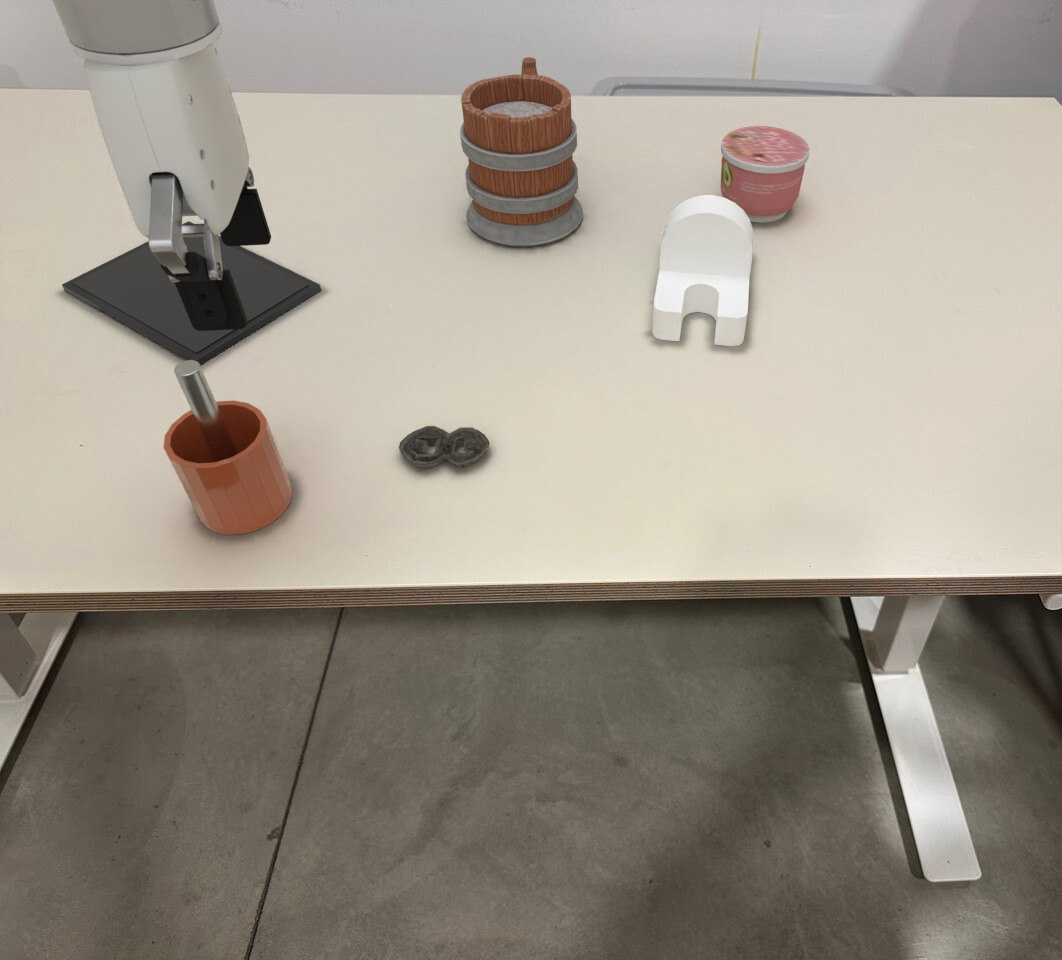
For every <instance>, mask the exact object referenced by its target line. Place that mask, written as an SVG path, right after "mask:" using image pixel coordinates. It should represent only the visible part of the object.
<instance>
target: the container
mask: <svg viewBox="0 0 1062 960" xmlns="http://www.w3.org/2000/svg"><path fill="white" fill-rule="evenodd" d="M720 153H721V155H722V158H721V165H720V166H721V168H720V169H721V170H720V187H719V188H720V192H721V195H722V196H721V197H724V198H726V199H728V200H730V201H732V202H734V203H736V204H737V205H738V206H739V207H740V208H742V209H743V210H744V212H745V213H746V215H747V216H748V218H749V219H750V222H751V223H771V222H772V223H773V222H776V221H778V220H781V219H782V218H784V217H785V216H786V215H787V214H788V211H790V210H791V208H793V206H794V204H795V203H796V201H797V200H798V198H799V196H800V191H801V187H802V182H803V178H804V173H805V167H806V163H807V162H808V160H809V158H810V146H809V144H808V143H807V141H806V140H805V139H804V138H803V137H802V136H800V135H798V134H797V133H795V132H793V131H790V130H789V129H788V130H787V129H784V128H780V127H775V126H770V125H769V126H767V125H750V126H743V127H740V128H736V129H734V130H732V131H729V132H728V133H727V134H726V135H724V136H723V138H722V139H721V144H720Z"/></svg>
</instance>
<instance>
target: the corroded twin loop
mask: <svg viewBox="0 0 1062 960" xmlns="http://www.w3.org/2000/svg"><path fill="white" fill-rule="evenodd" d="M429 442H436V443H435V447H434V452H433V453H431V454H424V452H426V451H427V448H428V445H429V444H428V443H429ZM459 442H464V443H463V452H456V451H455V450H456V447H457V443H459ZM489 447H490V440H489V439H488V438H487V436H486V434H485V433H483V432H481V431H480V430H479V429H476V428H474V427H470V426H469V427H468V426H467V427H466V426H465V427H463V426H461V427H459V428H457V429H455V430H453V431H451V432H448V431H446V430H445V429H442V428H440V427H438V426H436V425H425V426H423V427H421V428H419V429H418V428H417V429H416V430H414V431H412V432H411V433H408V434H407V435H406V436H405V437H403V439H401V440H400V441H399V445H398V449H399V451H400V453H401V455H403V456H404V457H405V458H406V459H407V460H408V461H410V462H411V463H413V464H414V465H415V466H416V467H418V468H420V469H427V468H434V467H436V466H437V465H439V464H440V463H441V462H444V461H448V463H451V464H452V465H454V466H456V467H457V468H464V467H466V466H468V465H472V464H474V463H476V462H478V461H479V460H480V459H481V458H482V457H483V456H484V455H485V454H486V452H487V450H488V449H489Z"/></svg>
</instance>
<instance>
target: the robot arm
mask: <svg viewBox="0 0 1062 960" xmlns="http://www.w3.org/2000/svg"><path fill="white" fill-rule="evenodd" d="M52 3H53V5H54V7H55V10H56V12H57V15H58V18H59V19H60V22H61V24H62V27H63V29H64V31H65V34H66V36H67V39H68V42H69V43H70V47H71V49H72V51H73V52H74V54H76V56H78V57H80V58H82V59H84V63H83V68H84V73H85V77H86V82H87V86H88V90H89V94H90V98H91V101H92V105H93V108H94V109H93V110H94V113H95V115H96V119H97V122H98V125H99V128H100V133H101V135H102V138H103V141H104V144H105V147H106V149H107V152H108V156H109V158H110V161H111V164H112V166H113V169H114V172H115V175H116V178H117V180H118V183H119V186H120V189H121V191H122V193H123V196H124V199H125V202H126V203H127V207H128V210H129V212H130V214H131V217H132V220H133V223H134V224H135V227H136V229H137V231H138V232H139V233H140V234H141V235H142V236H143V237H144V238H147V239H148V241H149V247H150V250H151V251H152V253H153V254H154V255H155V257H156V258H157V259H158V260H159V261H160V262H161V265H160V266H161V268H162V269H163V270H164V272H165V273H166V274H167V275H168V276H169V279H170V280H171V282H174V283H175V285H176V288H177V290H178V293H179V295H180V297H181V300H182V302H183V305H184V307H185V309H186V312H187V314H188V317H189V319H190V322H191V324H192V326H193V328H194V329H196V330H198V331H211V330H230V329H243V328H245V326H246V323H247V317H246V314H245V312H244V309H243V306H242V303H241V300H240V298H239V295H238V292H237V289H236V286H235V284H234V281H233V278H232V275H231V272H230V270H223V269H222V260H221V251H220V242H219V236H221V238H222V241H223V243H224V244H225V245H227V246H241V247H244V246H266V245H267V246H268V245H269V244H270V243H271V240H272V233H271V231H270V227H269V225H268V221H267V217H266V214H265V210H264V208H263V204H262V202H261V198H260V195H259V192H258V189H257V188H253V187H255V177H254V173H253V170H252V168H251V167H250V154H249V148H248V143H247V140H246V136H245V132H244V128H243V124H242V121H241V117H240V115H239V111H238V109H237V108H238V107H237V105H236V101H235V100H234V96H233V93H232V90H231V87H230V84H229V82H228V79H227V76H226V73H225V70H224V67H223V65H222V62H221V59H220V57H219V54H218V51H217V48H216V46H215V43H216V42H218V41H219V39H220V38H221V35H222V34H223V29H222V25H221V21H220V19H219V15H218V12H217V9H216V5H215V2H214V0H52ZM196 216H197V217H198V218H199V219H200V220H203V223H194V224H184V223H183V217H196ZM196 237H203V241H204V250H205V258H204V257H203V256H201V255H199V254H198V253H196V252H188V251H187V246H186V244H185V243H184V241H183V238H196Z"/></svg>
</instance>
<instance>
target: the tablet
mask: <svg viewBox="0 0 1062 960" xmlns="http://www.w3.org/2000/svg"><path fill="white" fill-rule="evenodd" d="M183 224H195V223H194V222H191V221H189V220H188V221H185V222H184V223H183ZM183 241H184V243H185V244H186V246H187V251H188V252H196V253H198V254H199V255H201V256H203V257H204V258H205V250H204V241H203V237H196V238H183ZM219 242H220V251H221V260H222V269H223V270H230V272H231V275H232V278H233V281H234V284H235V286H236V289H237V292H238V295H239V298H240V300H241V303H242V306H243V309H244V312H245V314H246V317H247V323H246V326H245V328H243V329H230V330H211V331H198V330H196V329H194V328H193V326H192V324H191V322H190V319H189V317H188V314H187V312H186V309H185V307H184V305H183V302H182V300H181V297H180V295H179V293H178V290H177V288H176V285H175V283H174V282H171V280H170V279H169V276H168V275H167V274H166V273H165V272H164V270H163V269H162V268H161V266H160V265H161V262H160V261H159V260H158V259H157V258H156V257H155V255H154V254H153V253H152V251H151V250H150V247H149V240H148V241H146V242H144V243H142V244H140V245H138V246H136V247H134V248H131V249H130V250H128V251H126V252H124V253H122V254H120V255H118V256H116V257H114V258H112V259H110V260H107V261H105V262H104V263H102V264H100V265H98V266H96V267H94V268H92V269H90V270H88V271H86V272H84V273H82V274H80V275H78V276H76V277H74V278H72V279H70V280H68V281H66V282H64V283H62V284H61V287H62V288H63V290H64V292H66V293H68V294H70V295H71V296H73V297H75V298H77V299H78V300H80V301H82V302H84V303H85V304H87V305H89V306H91V307H92V308H93V309H96V310H97V311H99V312H101V313H103V314H104V315H106V316H108V317H110V318H111V319H113V320H114V321H117V322H119V323H120V324H122V325H124V326H125V327H127V328H129V329H131V330H133V331H134V332H136V333H137V334H140V335H141V336H142V337H144V338H146V339H148V340H150V341H151V342H154V343H155V344H157V345H159V346H161V347H162V348H164V349H166V350H167V351H169V352H170V353H173V354H174V355H176V356H178V357H180V358H181V359H184V361H187V360H194V361H197V362H198V363H199V364H200V366H201V365H203V364H205V363H206V362H208V361H209V360H211V359H213V358H214V357H216V356H218V355H219V354H220V353H222V352H224V351H226V350H227V349H229V348H231V347H232V346H234V345H236V344H237V343H239V342H241V341H242V340H243V339H245V338H247V337H248V336H251V334H253V333H255V332H257V331H258V330H260V329H261V328H262V327H264V326H266V325H268V324H270V323H271V322H273V321H274V320H276V319H277V318H279V317H280V316H282V315H284V314H285V313H287V312H289V311H291V310H292V309H294V308H295V307H296V306H299V305H300V304H302V303H304V302H305V301H307V300H308V299H310V298H311V297H313V296H315V295H316V294H318V293H320V292H321V291H322V288H321V284H320V283H318V282H316V281H313V280H311V279H310V278H307V277H306V276H303V275H301V274H299V273H297V272H295V271H293V270H291V269H289V268H286V267H285V266H282V265H280V264H278V263H277V262H274V261H272V260H270V259H268V258H267V257H264V256H262V255H260V254H259V253H258V254H257V253H256V252H254V251H251V250H249V249H247V248H245V247H244V246H227V245H225V244H224V243H223V241H222V238H221V236H220V235H219Z"/></svg>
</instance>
